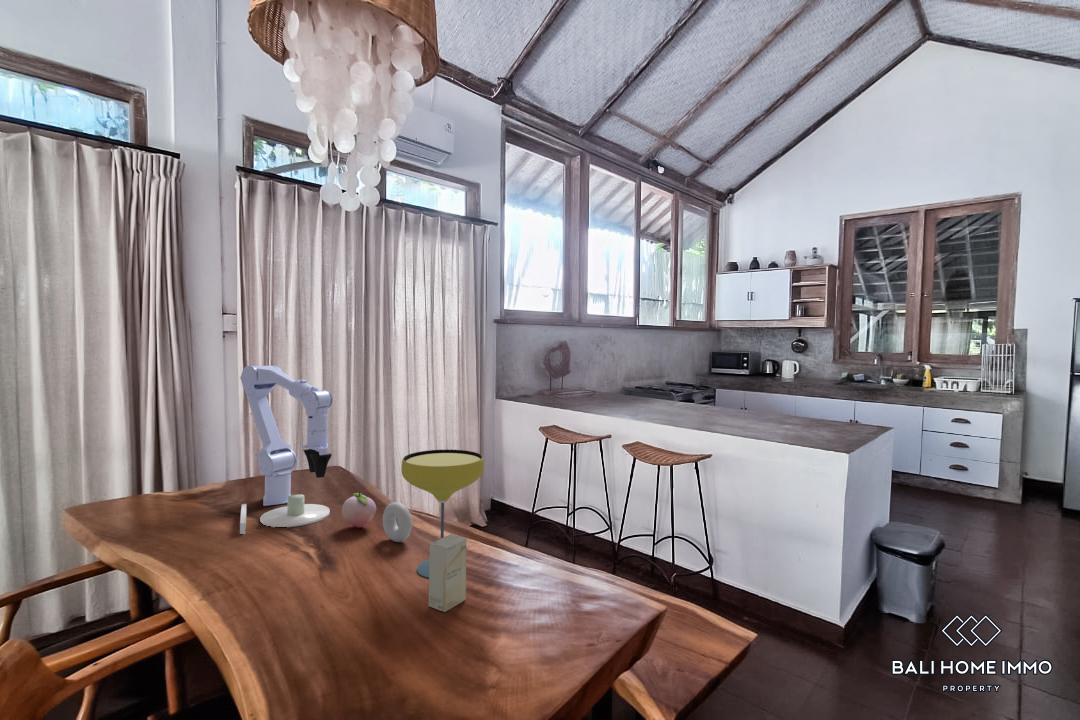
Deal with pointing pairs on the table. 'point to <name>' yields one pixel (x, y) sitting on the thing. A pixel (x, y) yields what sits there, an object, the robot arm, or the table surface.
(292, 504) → the green cylinder
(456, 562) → the skincare box
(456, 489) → the cocktail glass
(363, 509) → the decorative fruit
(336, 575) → the table surface
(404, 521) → the donut
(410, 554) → the table surface
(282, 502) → the robot arm
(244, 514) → the light grey rectangular bar
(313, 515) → the white plate
